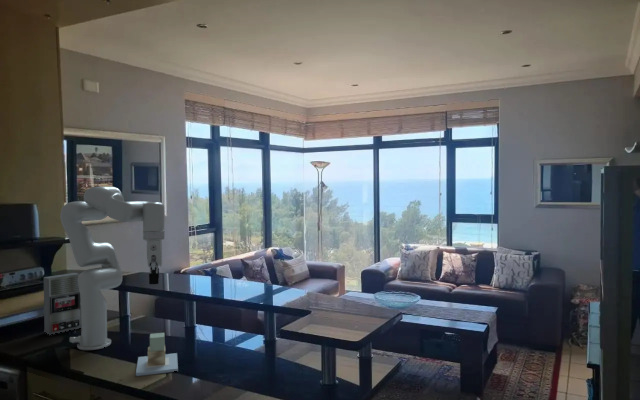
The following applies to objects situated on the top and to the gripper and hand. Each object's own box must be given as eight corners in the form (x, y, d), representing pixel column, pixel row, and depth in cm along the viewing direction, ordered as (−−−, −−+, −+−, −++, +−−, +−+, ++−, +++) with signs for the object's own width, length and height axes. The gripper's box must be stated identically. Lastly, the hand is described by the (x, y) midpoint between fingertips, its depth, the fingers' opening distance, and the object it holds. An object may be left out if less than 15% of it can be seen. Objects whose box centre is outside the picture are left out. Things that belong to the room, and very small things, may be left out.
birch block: (147, 366, 171) (147, 352, 171) (148, 360, 177) (148, 347, 176) (165, 364, 173) (165, 350, 173) (165, 358, 178) (165, 345, 178)
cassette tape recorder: (49, 336, 207) (48, 279, 206) (44, 333, 211) (43, 277, 210) (82, 328, 218) (81, 274, 217) (76, 326, 222) (75, 272, 221)
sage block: (149, 351, 171) (149, 338, 171) (150, 347, 176) (150, 333, 176) (164, 350, 173) (164, 336, 173) (164, 345, 178) (164, 332, 178)
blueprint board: (135, 376, 165) (135, 373, 165) (138, 359, 180) (138, 356, 180) (178, 371, 169) (177, 368, 169) (177, 355, 185) (177, 352, 184)
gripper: (164, 237, 169) (164, 285, 170) (164, 232, 186) (164, 276, 186) (141, 238, 167) (142, 286, 168) (144, 233, 184) (144, 277, 184)
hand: (154, 281), depth 177 cm, fingers open, 9 cm apart
